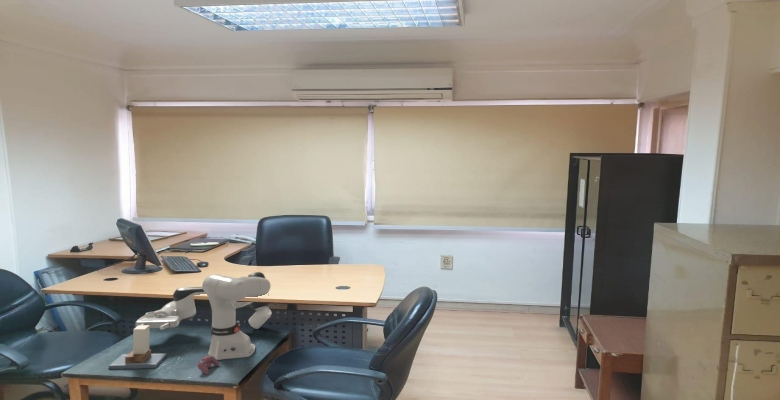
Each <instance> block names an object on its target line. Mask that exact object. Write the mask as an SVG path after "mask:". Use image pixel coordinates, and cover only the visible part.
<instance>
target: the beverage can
mask: <svg viewBox="0 0 780 400" xmlns="http://www.w3.org/2000/svg"><path fill="white" fill-rule="evenodd" d="M271 316H272V310H271V309H270V308H269V306H268V307H266V308H265V309H263V310H255V312H254V313H253V314H252V315H251V316H250V317H249V318H248V324H249V325H250V327H252V328H253V329H255V330H259V329H260V328H261V327H262V326H263V324H265V323H266V321H268V319H269V318H270V317H271Z"/></svg>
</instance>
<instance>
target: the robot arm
mask: <svg viewBox="0 0 780 400" xmlns="http://www.w3.org/2000/svg"><path fill="white" fill-rule="evenodd" d="M270 290H271V282H270V281H269V280H268V279H267V278H266V276H265V274H264V273H263V272H261V271H258V272H257V271H255V272H252V273H250V274H248V276H240V277H232V276H227V275H222V274H211V275H208V276H206V277H205V278H204V280H203V281H202V285H201V286H182V287H177V288H176V289H175V290H174V292H173V294H172V298H173V300H172V301H170V302H168V303H166V304H165V305H163V306H162V308H160V309H158V310H155V311H149V312H146V313H145V314H144V315H143V316H141V317H139V318H138V319H136V321H135V328H136V327H137V326H138V325H150V329H159V331H163V330H165V329H167V328H176V327H178V326H179V325H180V323H182V322H183V323H184V322H188V321H190V320H191V319H193V318H194V317H196V315H197V310H196V305H195V298H194V299H191V297H192V296H201V295H200V294H207V295H206V296H207V299H208V300H209V304H210V308H211V315H212V316H211V318H212V319H211V321H212V322H211V328H210V336H211V337H210V338H211V341H210V346H209V349H208V353H207V354H208V355H211V356H213V357H214V358H215V359H216V360H217V361H219V360H229V359H239V358H240V359H241V358H249V357H250V356H252V355H253V354H254V353H255V350H256V345H255V344H254V343H252V341H251V338H250V336H249V335H247V334H246V333H244V332H243V331H241V330H240V325H241V324H240V323H239V324H238V323H236V319H237V318H236V316H237V315H236V313H237V312H236V309H239V308H243V307H245V306H247V305H248V307H250V308H251V309H252V310H254V311H257V310H263V309H265V308H266V307H268V308H269V305H270V303H269V304H267V303H257V302H237V300H241V299H243V298H245V297H258V296H262V295H265V294H267V293H268V294H269V292H270Z"/></svg>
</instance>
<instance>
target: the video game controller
mask: <svg viewBox="0 0 780 400" xmlns="http://www.w3.org/2000/svg"><path fill="white" fill-rule="evenodd" d="M196 365H197V368H198V370H200V371H201V372H202V374H205V375H208V374H209V373H210V371H209V368H212V365H213V366H216V367H219V365H220V362H219V360H217V359H215V358H214V357H213V356H211V355H209V354H208V355H206V356H204V357H201V359H200V360H199V362H197V364H196Z"/></svg>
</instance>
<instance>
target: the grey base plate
mask: <svg viewBox="0 0 780 400" xmlns="http://www.w3.org/2000/svg"><path fill="white" fill-rule="evenodd" d="M166 357H167V353H166V352H165V353H164V352H163V353H152V349H150V348H149V350H148V351H147V352H146V353H145V354H133V350H131V352H129V353H122V354H121V355H119V357H117V358H116V359H115V360H114V361H113V362H111V363H110V364H109V365H108V369H109V370H123V369H156V368H158V366H159V365H160V364H161V363H162V362H163V361H164V359H165V358H166Z"/></svg>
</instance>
